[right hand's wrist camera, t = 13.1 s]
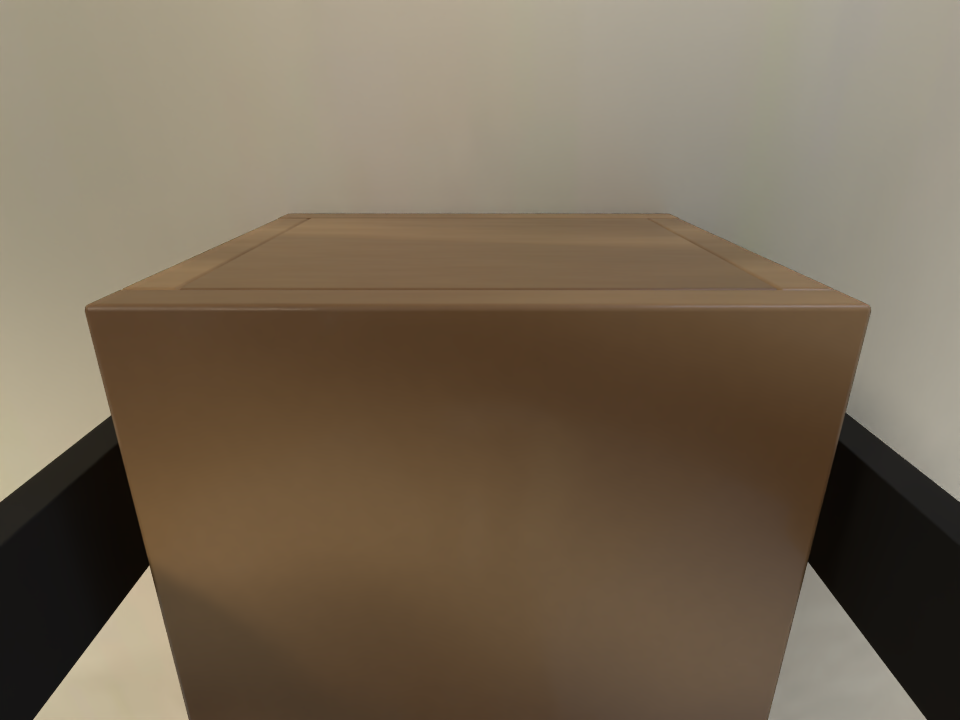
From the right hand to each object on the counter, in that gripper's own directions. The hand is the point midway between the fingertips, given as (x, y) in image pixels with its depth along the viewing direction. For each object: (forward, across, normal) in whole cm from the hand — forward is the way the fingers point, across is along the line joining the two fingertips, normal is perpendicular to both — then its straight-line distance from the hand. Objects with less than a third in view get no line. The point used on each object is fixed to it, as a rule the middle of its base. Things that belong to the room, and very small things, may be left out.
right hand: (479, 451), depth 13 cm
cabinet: (+5, 0, -4) cm, 6 cm away
